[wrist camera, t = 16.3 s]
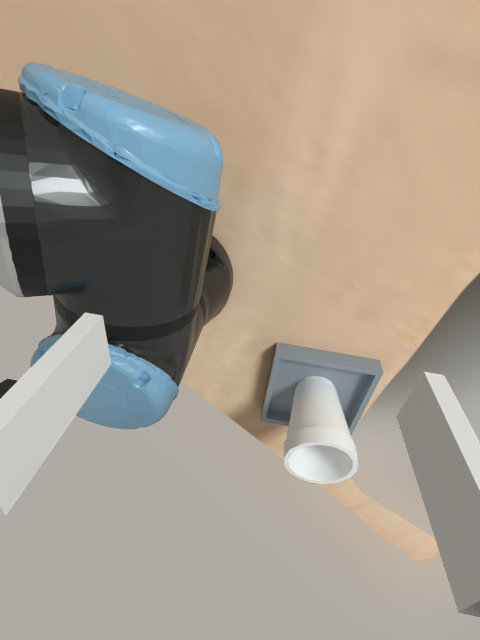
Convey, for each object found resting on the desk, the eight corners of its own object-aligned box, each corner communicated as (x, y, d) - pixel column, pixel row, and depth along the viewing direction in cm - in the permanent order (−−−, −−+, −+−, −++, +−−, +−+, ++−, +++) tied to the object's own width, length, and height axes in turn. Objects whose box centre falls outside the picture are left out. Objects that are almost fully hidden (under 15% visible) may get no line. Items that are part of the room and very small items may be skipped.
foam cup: (284, 369, 51) (281, 440, 40) (345, 367, 49) (358, 442, 38) (289, 409, 56) (287, 482, 45) (344, 409, 54) (356, 485, 43)
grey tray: (261, 408, 58) (260, 420, 56) (276, 342, 49) (275, 353, 47) (348, 424, 57) (350, 437, 55) (379, 360, 48) (383, 372, 46)
